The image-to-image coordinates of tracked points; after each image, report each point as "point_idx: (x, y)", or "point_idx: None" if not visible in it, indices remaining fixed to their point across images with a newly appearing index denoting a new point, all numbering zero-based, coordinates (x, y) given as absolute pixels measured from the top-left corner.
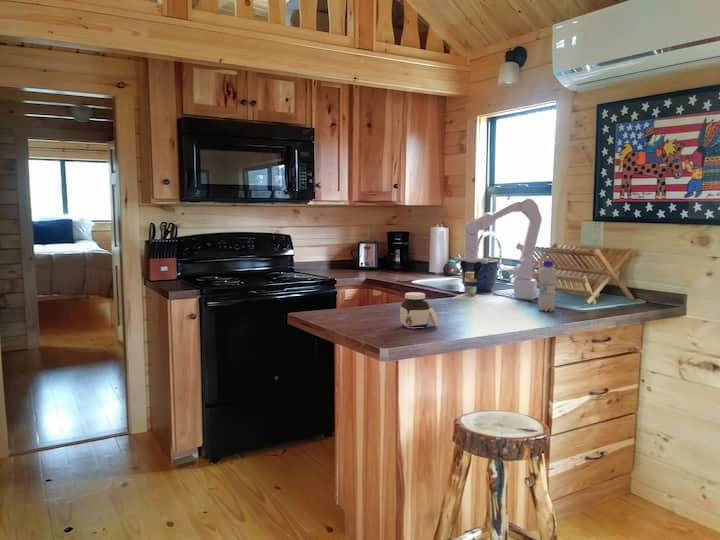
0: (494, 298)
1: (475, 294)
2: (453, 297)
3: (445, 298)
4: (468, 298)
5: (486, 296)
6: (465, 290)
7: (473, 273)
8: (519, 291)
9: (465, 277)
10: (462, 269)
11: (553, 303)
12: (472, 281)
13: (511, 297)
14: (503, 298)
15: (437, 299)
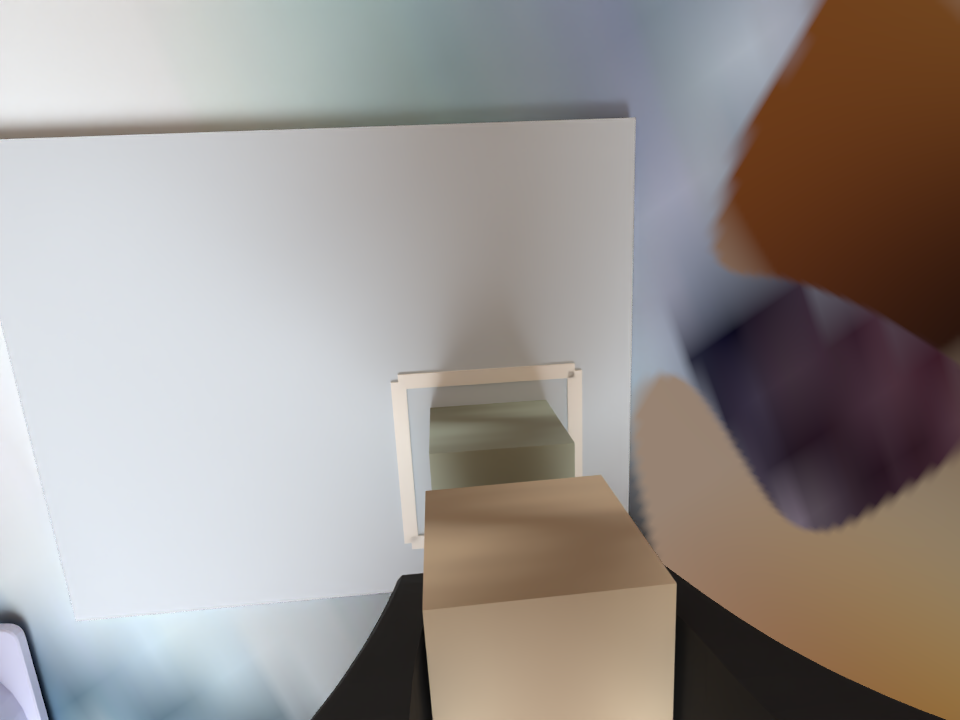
0: (145, 452)
1: None
2: (625, 205)
3: (716, 161)
4: (424, 250)
5: (300, 527)
6: (549, 425)
7: (424, 605)
8: None
9: (614, 517)
10: (811, 662)
11: None
12: (442, 494)
13: (9, 631)
14: (53, 519)
15: (784, 16)
